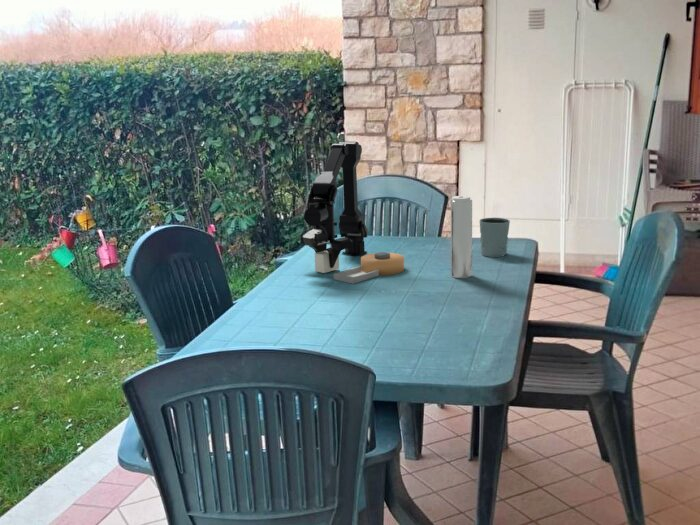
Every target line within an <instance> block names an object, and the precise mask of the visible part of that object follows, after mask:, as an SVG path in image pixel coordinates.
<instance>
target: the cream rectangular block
mask: <svg viewBox="0 0 700 525" xmlns="http://www.w3.org/2000/svg"><path fill="white" fill-rule="evenodd" d="M339 257H340V255H339V256H338V258H337V260H336V263H335V265H334V267H333V268H330V262H329V253H328V251H327V250H325V251H321V252H317V253H316V252H314V271H315V272H317V273H322V274H326V273H330V272H332V271H336V270H339V269H340V258H339Z"/></svg>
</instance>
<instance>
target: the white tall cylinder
mask: <svg viewBox="0 0 700 525" xmlns="http://www.w3.org/2000/svg"><path fill="white" fill-rule="evenodd" d="M450 276H451V277H452V278H455V279H468V278H469V279H470V278H471V277H472V276H473V199H471V196H468V195H454V196H452V197H451V199H450Z"/></svg>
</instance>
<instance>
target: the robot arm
mask: <svg viewBox="0 0 700 525" xmlns="http://www.w3.org/2000/svg"><path fill="white" fill-rule="evenodd" d="M362 152H363V148H362V145H361V144H359V142H358V141H339V142H338V143H337V142H336V143H333V144H331V146H330V152H329V154H328V158H327V160H326V163H325V165H324V168H323V170H322V172H321V174H319V175H318V176H316V178H315V179H314V181H313V183H312V184H311V186H310V191H309V196H308V200H307V204H308V205H309V206H308V207H309V208H307V209H305V211H304V214H303V219H304V222H306V224H307V225H309V226H311V227H312V229H311V230H309V231H307V232H306V233H303V234H301V236H300V244H305V246H308V247H309V248H312V249H313V251H314V253H317V252H321V251H325V250H327V251H328V253H329V262H330V268H333V267H334V265H335V263H336V260H337V258H338V256H339V257H340V253H341V252H342V254H341V255H348V256H353V257H356V256H361V255H365V254H367V253H368V251H367V250H365V241H364V238H365V239H366V238H368V233H369V231H368V230H369V229H368V228H367V225H366V223H365V221H364V216H363V214H362V212H361V211H360V209H359V206H358V204H359V202H358V179H357V178H358V176H357V167H358V165H359V163H360V161H361V159H362V158H361V156H362ZM341 168H342V183H343V190H342V191H343V207H344V208H343V211H342V213H341V214H340V215H339V217H338V218H339V221H338V222H339V223H338V222H337V221H335V213H334V212H335V206H334V204H335V203H336V201H335V200H336V198H337V197H336V196H337V193H338V185H337V179H338V176H339V174H340V170H341ZM337 225H338V229H339V235H340V237H339V238H338V234H336V233H335V226H337ZM328 245H329V247H328V248H327V246H328ZM343 250H345V251H343Z"/></svg>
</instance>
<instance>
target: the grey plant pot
mask: <svg viewBox="0 0 700 525" xmlns="http://www.w3.org/2000/svg"><path fill="white" fill-rule="evenodd" d="M510 222H511V221H510V220H509V219H508V218H502V217H485V218H481V219H479V233H480V254H482V255H481V256H483V257H486V256H489V257H488V258H498V257H497V256H502V257H504V256H503V255H505V256H506V255H507V249H508V248H507V247H508V246H507V245H508V239H509V236H508V235H509V230H510Z"/></svg>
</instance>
